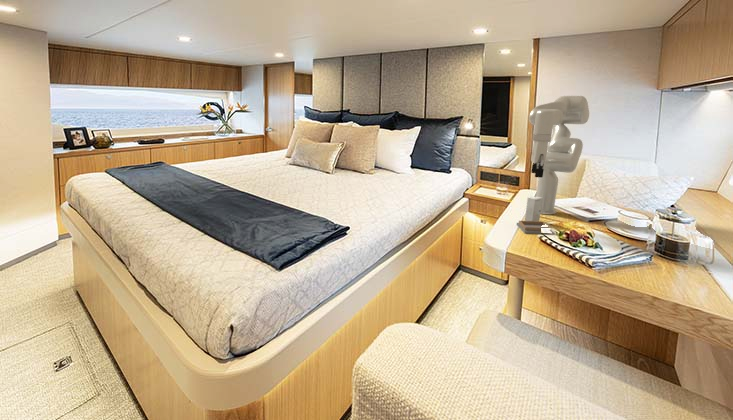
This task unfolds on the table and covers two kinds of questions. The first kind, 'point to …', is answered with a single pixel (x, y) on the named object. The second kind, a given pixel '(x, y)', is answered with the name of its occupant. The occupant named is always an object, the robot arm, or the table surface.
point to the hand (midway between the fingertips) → (536, 175)
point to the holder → (531, 226)
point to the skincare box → (533, 208)
